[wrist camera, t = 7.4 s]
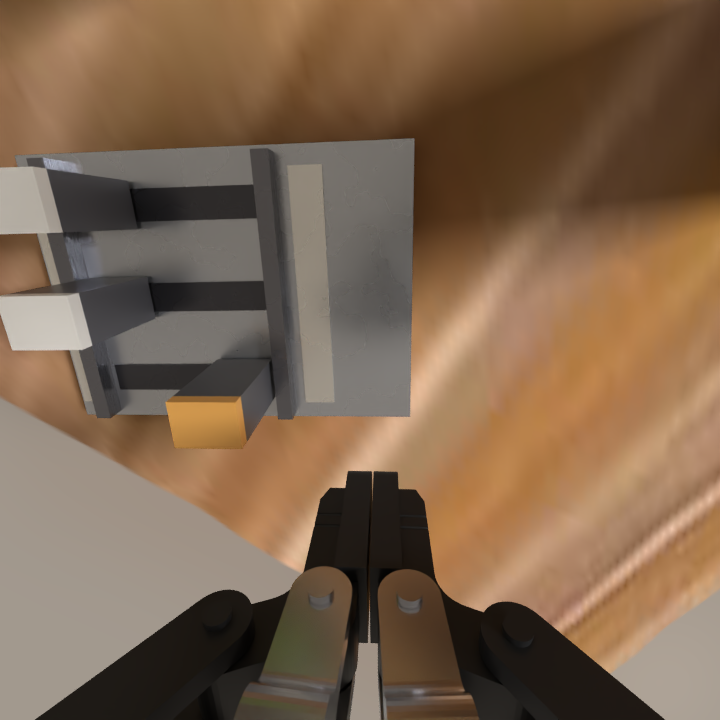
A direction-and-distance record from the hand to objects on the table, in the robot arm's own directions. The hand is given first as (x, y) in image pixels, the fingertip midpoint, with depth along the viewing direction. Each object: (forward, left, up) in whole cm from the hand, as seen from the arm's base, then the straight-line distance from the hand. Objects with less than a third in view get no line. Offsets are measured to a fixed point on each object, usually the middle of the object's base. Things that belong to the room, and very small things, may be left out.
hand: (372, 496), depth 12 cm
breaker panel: (+8, -4, -12) cm, 15 cm away
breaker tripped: (+7, 0, -10) cm, 12 cm away
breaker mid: (+13, -4, -10) cm, 17 cm away
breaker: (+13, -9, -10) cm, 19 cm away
